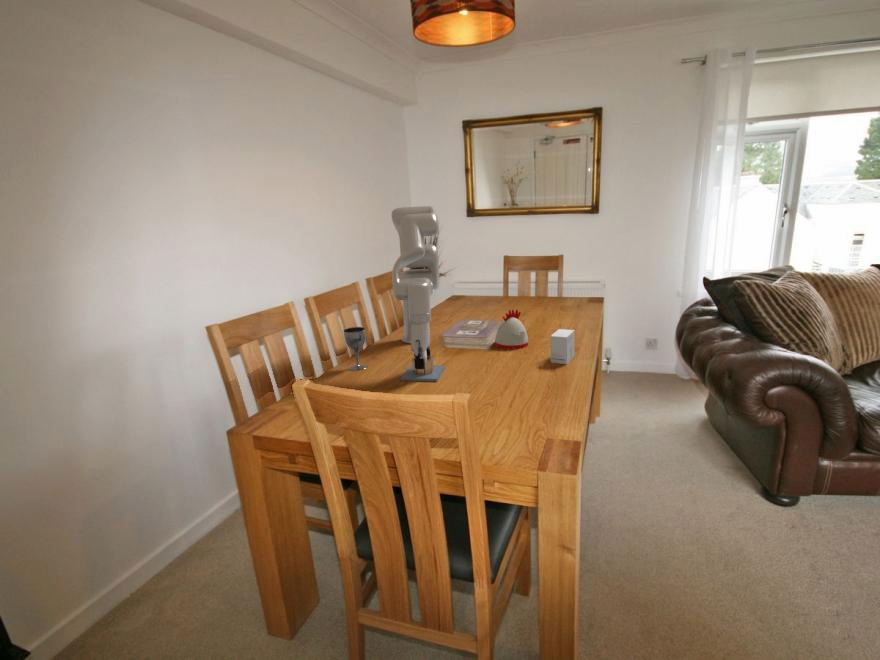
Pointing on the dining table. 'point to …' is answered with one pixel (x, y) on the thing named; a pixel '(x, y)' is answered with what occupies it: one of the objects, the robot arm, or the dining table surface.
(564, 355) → the skincare box
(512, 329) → the kitchen timer
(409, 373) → the piston stand
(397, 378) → the dining table surface
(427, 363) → the ring
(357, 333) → the wine glass
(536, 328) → the dining table surface
